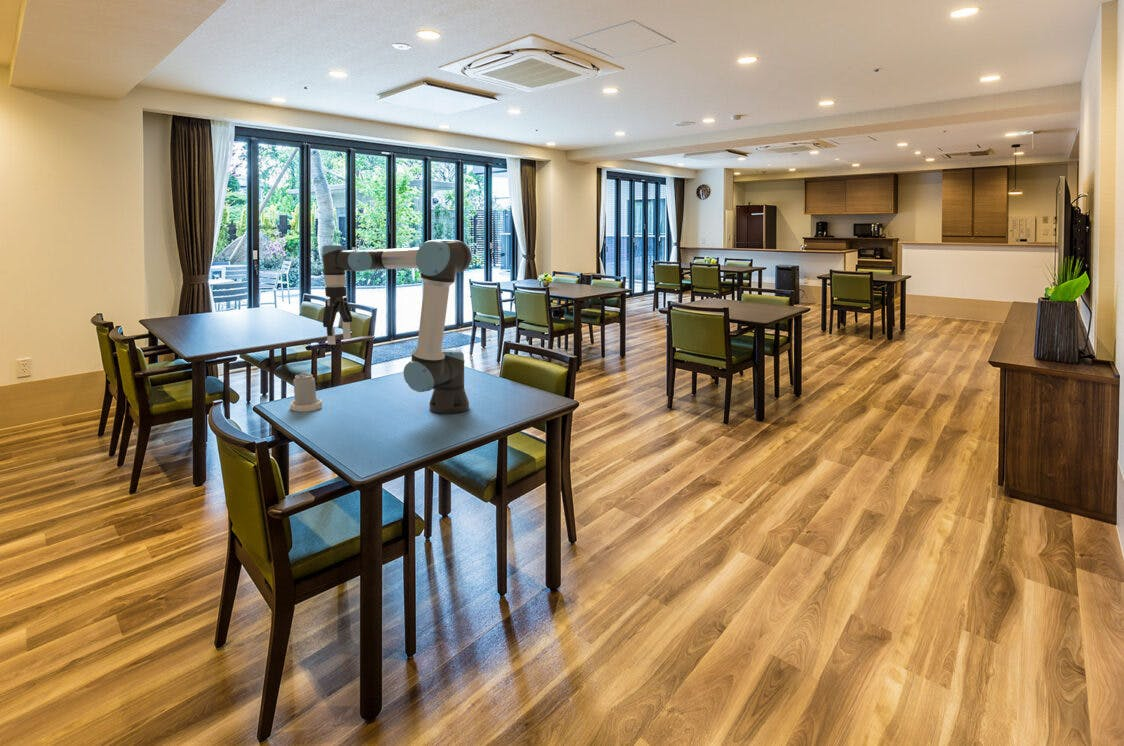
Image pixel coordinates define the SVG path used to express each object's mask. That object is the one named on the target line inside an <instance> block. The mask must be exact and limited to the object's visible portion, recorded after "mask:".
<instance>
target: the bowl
mask: <svg viewBox="0 0 1124 746" xmlns="http://www.w3.org/2000/svg"><path fill="white" fill-rule="evenodd" d="M322 408H323V400H322V398H317V397H316V404H311V405H295V399H293V400H291V401H290V410H291V411H292V412H298V413H304V412H305V413H306V412H314V411H318V410H320V409H322Z"/></svg>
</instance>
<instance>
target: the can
mask: <svg viewBox="0 0 1124 746" xmlns="http://www.w3.org/2000/svg"><path fill="white" fill-rule="evenodd" d="M292 380H293V391H294V392H293V393H294V400H295V405H311V404H316V398H317V390H316V379H315V377H313V374H311V373H302V374H301V373H300V374H296V375H295V376H294V379H292Z"/></svg>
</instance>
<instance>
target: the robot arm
mask: <svg viewBox="0 0 1124 746" xmlns="http://www.w3.org/2000/svg"><path fill="white" fill-rule="evenodd" d="M321 252H322V253H321V254H322V255H321V257H322V266H323V275H324V276H323V280H324V285H325V287H324V291H325V297H327V298H329V299H328V300H327V299H326V300H325V302H324V303H325V308H324V315H323V321H322V325H323V328H326V339H327V345H333V346H334V345H337V344H336V342H337V341H336V330H335V327H334V324H335V320H336V316H337V313H339V315H340V317H341V319H342V323H341V324H342V326H341V327H342V337H343V339H345V340H346V339H347V340H348V339H349V340H350V339H352V338H351V336H352V335H351V323H352V322H353V316H352V313H351V310H350V307H349V303H348V297H347V296H348V295H347V287H346V285H347V283H346V282H347V281H346V271H348V272H349V271H350V272H366V271H373V270H376V271H377V270H398V269H399V270H400V269H401V270H402V269H418V271H419V272H420V279H422V281H423V283H424V284H423V294H422V300H421V309H420V311H421V312H420V319H419V327H418V338H417V345H416V348H415V349H414V350H413V351H412V352H411V359H410V361H409V362H407V364H405V366H404V368H403V379H404V381H405V383H406V384H407V385H408V387H409V388H410V389H411V390H413V391H415V392H417V393H425V392H430V391H431V390H432V394H431V396H430V397H431V398H430V401H429V410H430V411H431V412H433V413H435V412H436V413H435V414H442V413H445V414H447V413H453V414H458V413H457V412H460V413H464V412H466V410H467V409H468V408H469V409H470V401H469V398H468V395H467V393H466V389H465V356H464V355H465V354H464V352H463V351H462V350H458V349H457V350H456V349H455V350H454V349H445V348H443V340H444V333H445V324H446V318H447V309H448V302H449V301H448V300H449V293H450V286H451V285H452V284H454V283H455V280H456V274H459V273H463V272H464V271H466V270H467V269H468V268H469V266H470V264H471V262H472V252H471V249H470V248H469V246H468V245H467V244H466V243H465V242H463V241H461V240H458V239H438V238H437V239H432V240H427V241H425V242H423V243H421V245H420V246H419V247H408V248H405V247H404V248H385V249H384V248H383V249H356V250H355V249H353V250H352V249H350V250H349V249H347V250H345V249H344V246H343V245H342V244H324V245H322V249H321ZM469 409H468V410H469ZM468 410H467V411H468ZM463 411H464V412H463ZM445 414H444V415H445Z"/></svg>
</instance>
